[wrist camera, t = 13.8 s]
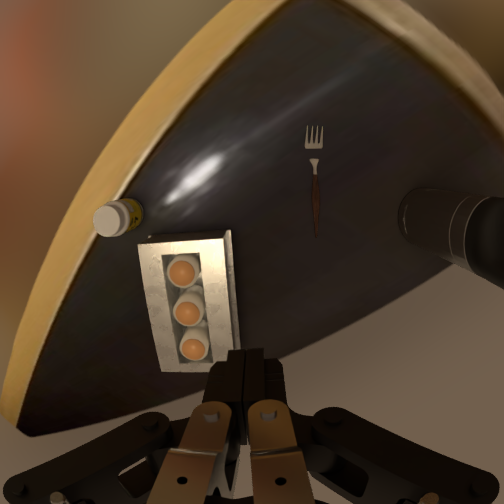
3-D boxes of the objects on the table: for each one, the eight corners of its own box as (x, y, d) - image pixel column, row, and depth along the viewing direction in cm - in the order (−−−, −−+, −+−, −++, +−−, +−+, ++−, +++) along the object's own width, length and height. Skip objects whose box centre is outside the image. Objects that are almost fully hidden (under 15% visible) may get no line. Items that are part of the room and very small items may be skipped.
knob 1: (202, 246, 44) (195, 257, 38) (205, 274, 45) (199, 288, 39) (175, 248, 44) (164, 259, 38) (178, 275, 45) (168, 289, 39)
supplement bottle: (129, 235, 45) (106, 247, 37) (110, 213, 44) (83, 221, 36) (150, 213, 44) (129, 221, 36) (130, 191, 43) (105, 194, 35)
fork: (306, 237, 45) (309, 239, 43) (303, 127, 42) (305, 125, 40) (323, 236, 45) (327, 239, 43) (321, 127, 42) (324, 125, 40)
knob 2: (206, 283, 45) (200, 299, 39) (209, 309, 46) (204, 327, 40) (180, 285, 45) (170, 300, 39) (183, 310, 46) (175, 328, 40)
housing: (230, 229, 45) (227, 238, 38) (240, 346, 49) (239, 371, 42) (150, 235, 45) (134, 244, 38) (168, 348, 49) (158, 371, 42)
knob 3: (210, 318, 46) (205, 337, 40) (213, 341, 47) (209, 361, 41) (185, 319, 46) (176, 337, 40) (188, 341, 47) (181, 362, 41)
